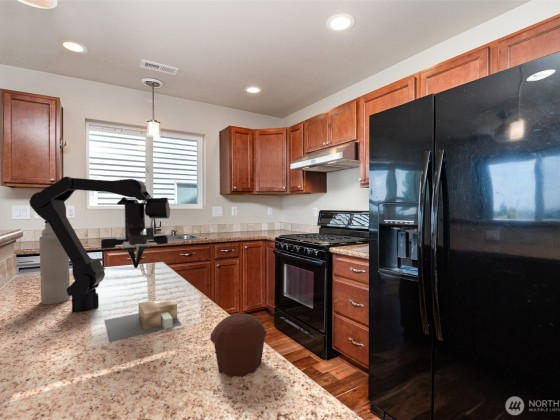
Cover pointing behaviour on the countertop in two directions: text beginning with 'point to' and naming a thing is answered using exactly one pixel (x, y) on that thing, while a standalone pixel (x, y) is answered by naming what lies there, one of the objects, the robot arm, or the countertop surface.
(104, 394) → the countertop surface
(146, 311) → the tee block
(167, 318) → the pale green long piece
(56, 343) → the countertop surface
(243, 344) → the muffin
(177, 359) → the countertop surface
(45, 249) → the thermos bottle
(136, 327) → the mat
